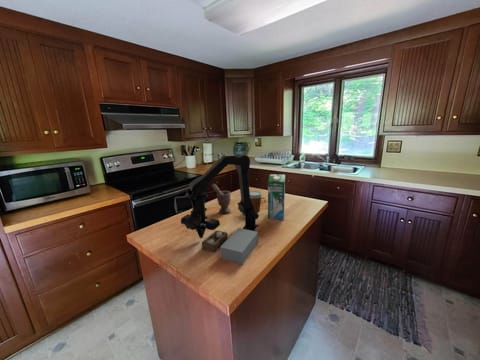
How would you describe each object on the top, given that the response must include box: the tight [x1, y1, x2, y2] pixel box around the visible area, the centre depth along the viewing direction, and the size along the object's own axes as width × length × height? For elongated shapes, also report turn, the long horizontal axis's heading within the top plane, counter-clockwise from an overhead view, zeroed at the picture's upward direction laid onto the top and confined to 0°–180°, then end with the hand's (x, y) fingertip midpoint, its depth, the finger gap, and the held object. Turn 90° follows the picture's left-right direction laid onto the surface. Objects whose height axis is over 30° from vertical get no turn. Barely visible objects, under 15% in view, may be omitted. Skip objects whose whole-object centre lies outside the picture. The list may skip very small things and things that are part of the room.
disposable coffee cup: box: [250, 190, 263, 214], centre depth 131 cm, size 10×10×12 cm
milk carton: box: [267, 173, 286, 221], centre depth 121 cm, size 9×9×25 cm
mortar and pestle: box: [211, 183, 232, 215], centre depth 129 cm, size 12×9×20 cm
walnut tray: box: [201, 229, 229, 253], centre depth 96 cm, size 12×6×4 cm, turn 155°
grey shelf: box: [219, 227, 259, 266], centre depth 90 cm, size 17×10×6 cm, turn 155°
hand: (201, 237), depth 99 cm, fingers closed
